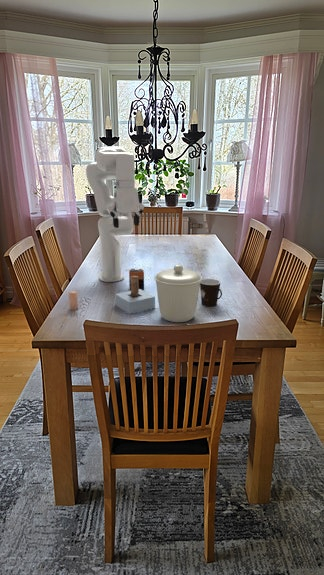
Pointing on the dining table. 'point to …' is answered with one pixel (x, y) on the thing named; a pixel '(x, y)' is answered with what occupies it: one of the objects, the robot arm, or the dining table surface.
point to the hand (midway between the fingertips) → (126, 226)
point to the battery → (140, 277)
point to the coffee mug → (210, 292)
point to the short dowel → (73, 300)
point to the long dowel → (134, 286)
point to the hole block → (134, 301)
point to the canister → (177, 293)
